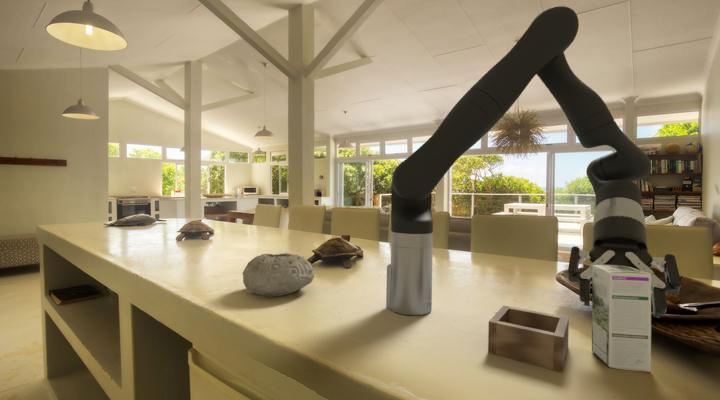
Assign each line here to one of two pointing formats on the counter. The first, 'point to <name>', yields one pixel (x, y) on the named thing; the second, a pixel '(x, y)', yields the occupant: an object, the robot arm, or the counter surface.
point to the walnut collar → (529, 337)
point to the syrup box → (621, 317)
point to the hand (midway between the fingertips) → (620, 308)
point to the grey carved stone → (277, 274)
